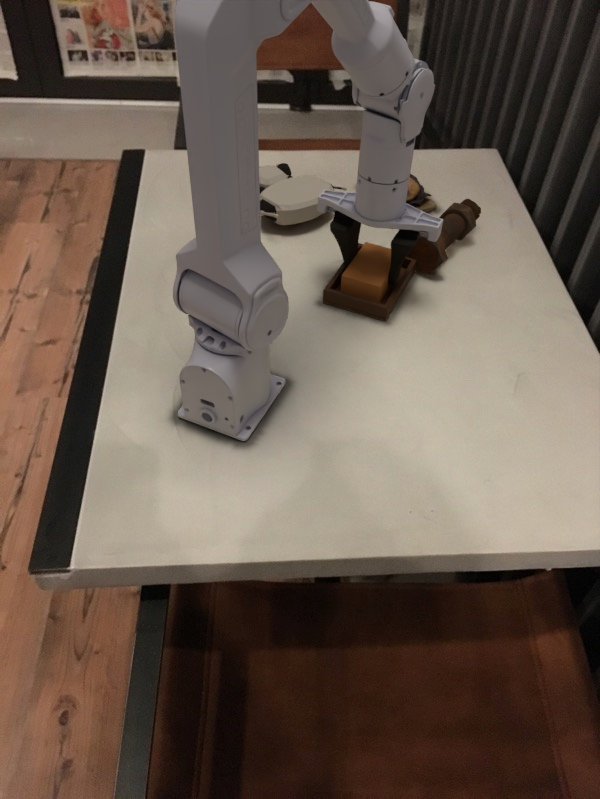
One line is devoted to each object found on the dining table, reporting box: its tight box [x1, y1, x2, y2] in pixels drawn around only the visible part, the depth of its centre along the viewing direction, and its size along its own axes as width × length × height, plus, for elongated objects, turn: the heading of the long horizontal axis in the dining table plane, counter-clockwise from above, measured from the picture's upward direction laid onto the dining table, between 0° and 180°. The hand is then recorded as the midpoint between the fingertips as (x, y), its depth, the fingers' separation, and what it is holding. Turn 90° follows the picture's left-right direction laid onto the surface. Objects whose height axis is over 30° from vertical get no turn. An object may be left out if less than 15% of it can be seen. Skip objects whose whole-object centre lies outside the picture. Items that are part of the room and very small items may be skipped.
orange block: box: [340, 241, 391, 303], centre depth 84 cm, size 8×5×3 cm, turn 155°
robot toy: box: [259, 162, 348, 226], centre depth 97 cm, size 12×4×15 cm
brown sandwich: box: [406, 173, 437, 213], centre depth 100 cm, size 11×8×4 cm
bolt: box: [407, 198, 482, 275], centre depth 90 cm, size 6×5×15 cm
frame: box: [322, 242, 417, 323], centre depth 85 cm, size 11×8×2 cm
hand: (371, 274), depth 84 cm, fingers closed on orange block, 5 cm apart
